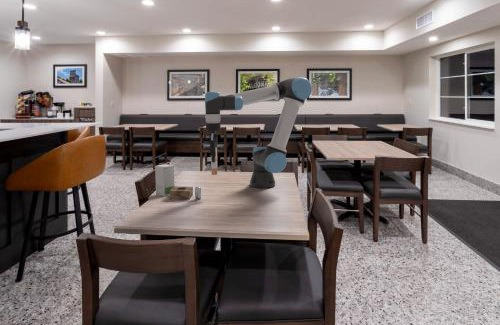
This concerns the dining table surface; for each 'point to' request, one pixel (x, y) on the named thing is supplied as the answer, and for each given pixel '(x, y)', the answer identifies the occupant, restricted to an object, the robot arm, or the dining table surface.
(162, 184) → the skincare box
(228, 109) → the robot arm
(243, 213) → the dining table surface
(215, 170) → the long pin
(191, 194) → the socket block
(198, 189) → the short pin
